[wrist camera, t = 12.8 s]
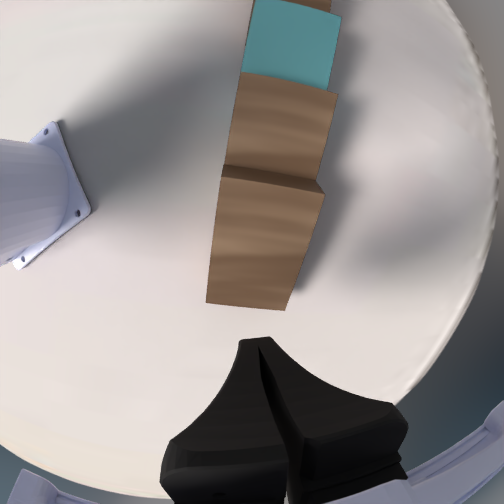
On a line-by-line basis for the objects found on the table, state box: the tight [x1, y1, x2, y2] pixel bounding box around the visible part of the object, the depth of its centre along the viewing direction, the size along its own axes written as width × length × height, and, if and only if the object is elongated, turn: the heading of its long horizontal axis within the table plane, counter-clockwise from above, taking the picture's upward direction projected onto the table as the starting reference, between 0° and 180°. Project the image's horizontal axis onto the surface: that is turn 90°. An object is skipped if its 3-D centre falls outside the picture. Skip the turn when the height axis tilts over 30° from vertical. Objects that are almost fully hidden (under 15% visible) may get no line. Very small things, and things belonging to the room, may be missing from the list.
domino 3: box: [240, 0, 342, 91], centre depth 13 cm, size 2×5×8 cm
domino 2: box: [224, 72, 338, 180], centre depth 14 cm, size 2×5×8 cm
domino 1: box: [206, 165, 325, 311], centre depth 15 cm, size 2×5×8 cm
